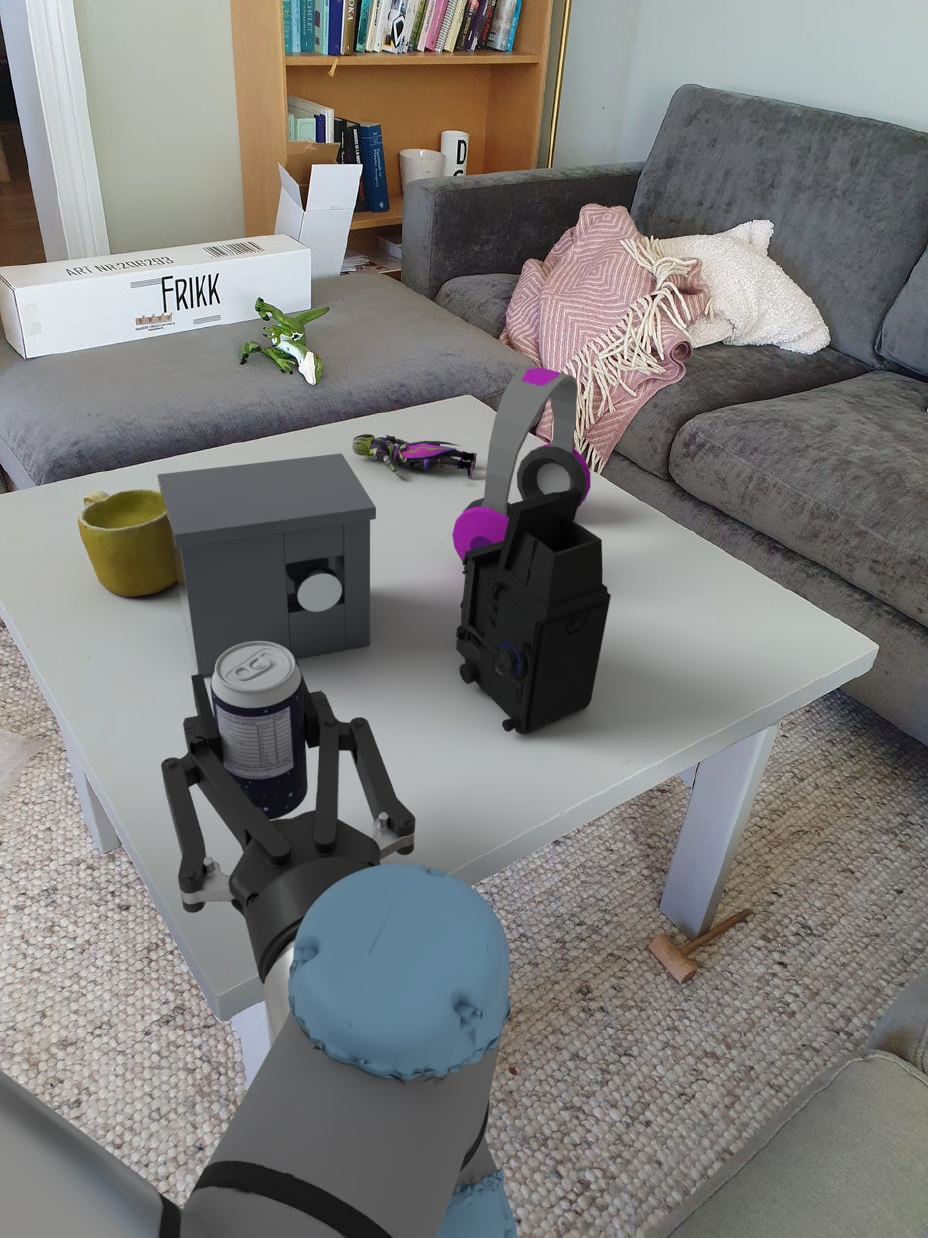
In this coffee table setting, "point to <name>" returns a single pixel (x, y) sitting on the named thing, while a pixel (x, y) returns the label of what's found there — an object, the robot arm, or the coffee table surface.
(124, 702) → the coffee table surface
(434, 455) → the character figure
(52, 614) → the coffee table surface
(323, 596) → the flush button
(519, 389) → the headphones
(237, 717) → the beverage can
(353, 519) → the cabinet
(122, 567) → the mug
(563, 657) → the camera
